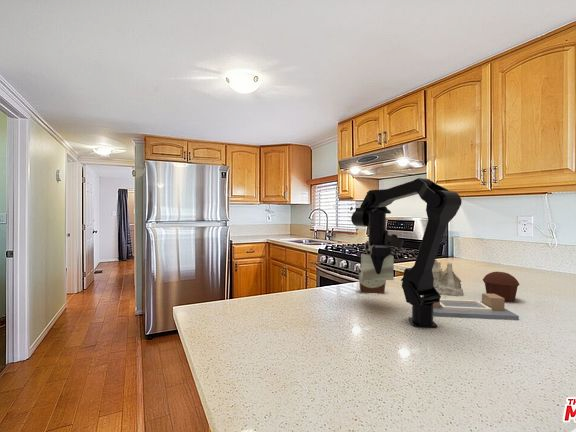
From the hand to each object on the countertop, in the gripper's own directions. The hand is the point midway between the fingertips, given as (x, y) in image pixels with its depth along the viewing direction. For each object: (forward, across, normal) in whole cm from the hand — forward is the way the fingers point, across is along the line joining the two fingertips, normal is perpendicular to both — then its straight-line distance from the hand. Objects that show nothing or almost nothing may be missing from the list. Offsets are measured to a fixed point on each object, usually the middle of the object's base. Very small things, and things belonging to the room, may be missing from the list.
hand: (377, 272), depth 108 cm
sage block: (+2, 0, 0) cm, 2 cm away
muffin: (+12, +16, -48) cm, 52 cm away
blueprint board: (+12, 0, -27) cm, 30 cm away
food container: (+12, +21, -1) cm, 24 cm away
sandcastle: (+12, +27, -31) cm, 43 cm away
